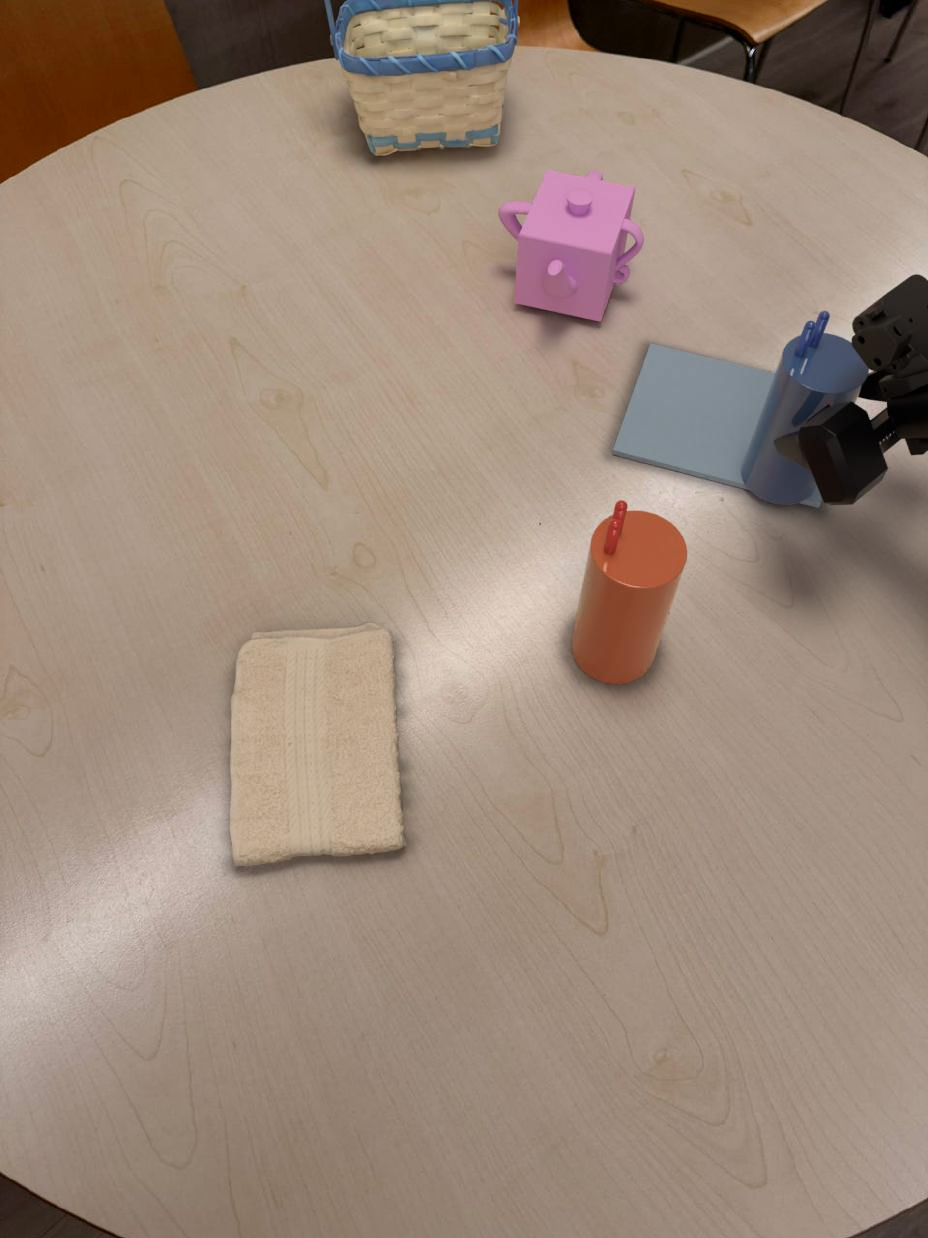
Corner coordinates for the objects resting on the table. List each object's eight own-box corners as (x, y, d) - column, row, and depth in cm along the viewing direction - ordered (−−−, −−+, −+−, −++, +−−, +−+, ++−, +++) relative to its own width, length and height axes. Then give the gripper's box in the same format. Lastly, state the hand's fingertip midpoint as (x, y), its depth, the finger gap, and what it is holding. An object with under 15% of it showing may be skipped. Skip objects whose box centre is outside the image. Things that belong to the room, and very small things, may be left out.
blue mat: (841, 394, 93) (844, 389, 93) (819, 508, 86) (821, 503, 86) (649, 347, 96) (650, 342, 96) (611, 454, 89) (612, 449, 89)
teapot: (610, 367, 95) (626, 278, 86) (467, 335, 97) (468, 245, 88) (649, 247, 104) (667, 155, 96) (518, 219, 106) (524, 128, 98)
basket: (509, 84, 119) (521, -152, 100) (522, 169, 111) (538, -71, 91) (331, 89, 119) (306, -149, 99) (330, 175, 110) (303, -66, 90)
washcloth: (393, 633, 79) (391, 611, 77) (411, 857, 70) (409, 841, 67) (238, 646, 79) (231, 625, 76) (235, 874, 69) (226, 859, 66)
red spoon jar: (662, 626, 80) (706, 495, 66) (643, 694, 77) (685, 571, 63) (583, 603, 81) (610, 469, 67) (561, 670, 78) (584, 543, 64)
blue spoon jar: (831, 478, 87) (902, 333, 74) (783, 517, 85) (847, 374, 71) (773, 435, 90) (831, 287, 76) (725, 472, 88) (775, 326, 74)
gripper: (1042, 215, 68) (852, 269, 81) (869, 344, 61) (694, 379, 75) (1088, 368, 71) (898, 395, 85) (929, 506, 64) (751, 511, 78)
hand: (814, 416), depth 81 cm, fingers open, 9 cm apart
